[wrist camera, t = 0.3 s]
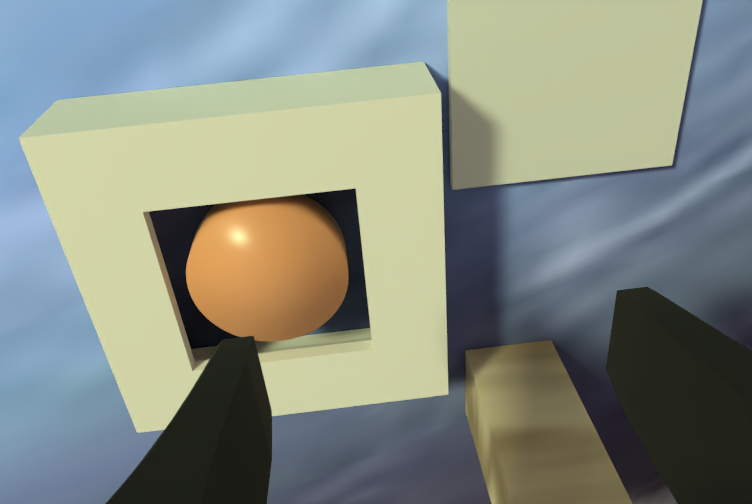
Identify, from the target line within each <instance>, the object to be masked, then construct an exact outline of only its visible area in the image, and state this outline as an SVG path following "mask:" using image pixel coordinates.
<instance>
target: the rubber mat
mask: <svg viewBox="0 0 752 504" xmlns="http://www.w3.org/2000/svg"><path fill="white" fill-rule="evenodd" d="M702 1H703V0H447V25H448V81H449V137H450V185H451V187H452V190H456V189H465V188H474V187H483V186H492V185H501V184H510V183H518V182H527V181H536V180H545V179H554V178H563V177H572V176H581V175H590V174H599V173H608V172H617V171H626V170H634V169H643V168H652V167H661V166H670V165H672V163H673V158H674V152H675V147H676V142H677V136H678V131H679V125H680V120H681V115H682V109H683V104H684V98H685V93H686V88H687V82H688V77H689V71H690V66H691V61H692V55H693V50H694V44H695V39H696V34H697V28H698V23H699V17H700V12H701V7H702Z"/></svg>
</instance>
